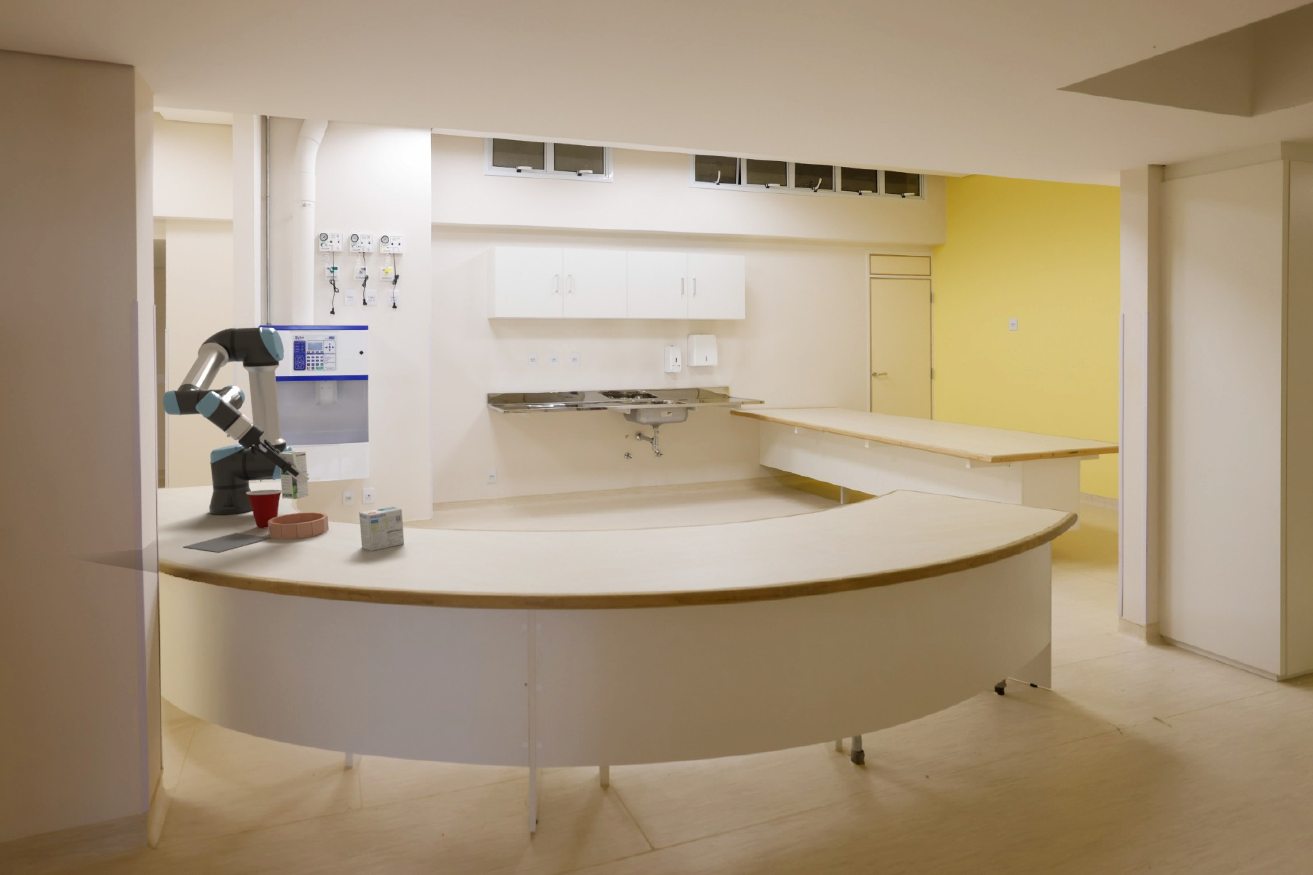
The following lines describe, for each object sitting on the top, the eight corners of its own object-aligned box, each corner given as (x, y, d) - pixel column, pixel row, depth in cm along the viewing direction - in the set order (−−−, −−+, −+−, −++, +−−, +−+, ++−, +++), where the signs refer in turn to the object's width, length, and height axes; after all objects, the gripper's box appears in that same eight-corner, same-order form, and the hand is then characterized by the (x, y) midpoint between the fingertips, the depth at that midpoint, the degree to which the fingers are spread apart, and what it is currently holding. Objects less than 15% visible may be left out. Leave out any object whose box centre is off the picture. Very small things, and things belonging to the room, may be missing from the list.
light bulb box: (394, 540, 260) (391, 505, 259) (405, 544, 256) (402, 508, 254) (360, 547, 253) (358, 511, 252) (371, 551, 248) (368, 514, 247)
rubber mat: (235, 533, 274) (235, 532, 274) (271, 538, 267) (271, 537, 267) (183, 547, 258) (183, 546, 258) (219, 552, 251) (219, 551, 251)
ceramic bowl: (301, 523, 285) (300, 510, 284) (339, 528, 278) (338, 514, 277) (257, 535, 270) (256, 521, 269) (296, 540, 262) (295, 526, 262)
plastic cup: (291, 522, 288) (288, 487, 286) (274, 530, 277) (270, 493, 276) (260, 522, 289) (257, 487, 287) (242, 530, 278) (238, 493, 277)
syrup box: (281, 498, 270) (277, 452, 268) (295, 495, 275) (291, 450, 273) (295, 499, 268) (292, 453, 266) (309, 495, 273) (306, 450, 271)
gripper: (238, 437, 273) (297, 483, 281) (234, 445, 254) (297, 494, 262) (255, 420, 274) (313, 465, 282) (253, 426, 255) (315, 475, 263)
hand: (305, 479), depth 272 cm, fingers closed on syrup box, 8 cm apart
